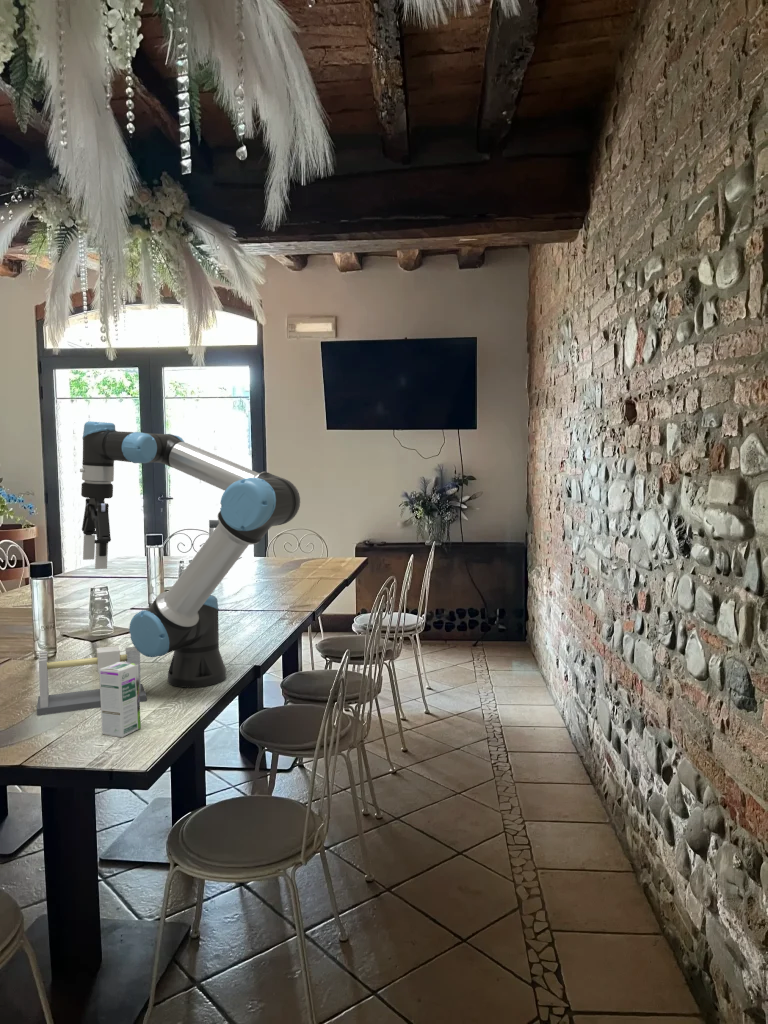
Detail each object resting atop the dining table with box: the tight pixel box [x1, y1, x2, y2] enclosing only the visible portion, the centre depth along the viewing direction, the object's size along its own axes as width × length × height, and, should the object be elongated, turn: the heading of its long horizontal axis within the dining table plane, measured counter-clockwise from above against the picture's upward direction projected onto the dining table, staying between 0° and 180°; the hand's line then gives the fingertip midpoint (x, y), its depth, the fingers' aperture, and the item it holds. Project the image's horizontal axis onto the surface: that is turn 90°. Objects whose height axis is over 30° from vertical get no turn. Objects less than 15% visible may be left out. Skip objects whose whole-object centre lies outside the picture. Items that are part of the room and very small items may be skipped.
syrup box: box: [98, 661, 142, 738], centre depth 152 cm, size 6×6×14 cm
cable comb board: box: [36, 646, 147, 716], centre depth 172 cm, size 24×10×12 cm, turn 114°
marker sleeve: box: [96, 645, 121, 674], centre depth 173 cm, size 5×5×5 cm
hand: (94, 563), depth 184 cm, fingers open, 13 cm apart
